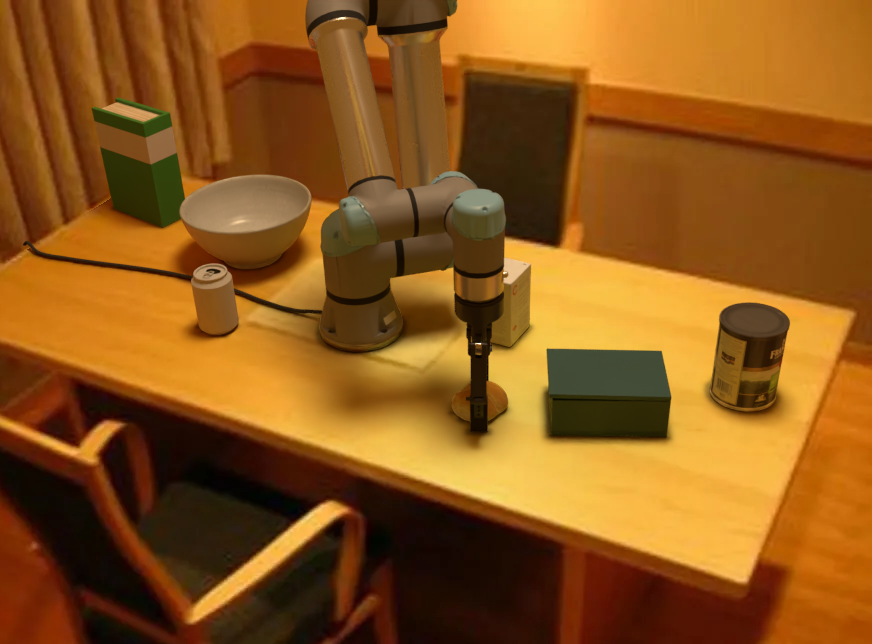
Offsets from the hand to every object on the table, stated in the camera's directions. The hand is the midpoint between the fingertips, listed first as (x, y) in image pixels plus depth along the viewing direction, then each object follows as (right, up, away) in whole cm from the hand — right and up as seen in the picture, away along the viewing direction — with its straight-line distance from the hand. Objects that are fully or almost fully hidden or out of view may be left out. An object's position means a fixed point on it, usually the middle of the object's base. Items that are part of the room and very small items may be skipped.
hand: (479, 408), depth 175 cm
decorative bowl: (-42, +31, +49) cm, 72 cm away
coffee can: (+42, +2, -1) cm, 42 cm away
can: (-46, +15, +27) cm, 55 cm away
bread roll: (0, 0, 0) cm, 0 cm away
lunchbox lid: (+19, +5, -7) cm, 21 cm away
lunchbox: (+20, -1, -3) cm, 20 cm away
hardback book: (-67, +43, +70) cm, 106 cm away
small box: (+7, +13, +18) cm, 23 cm away
